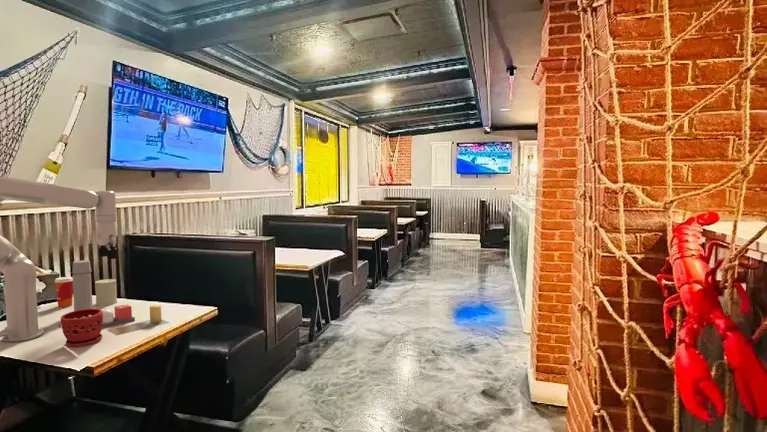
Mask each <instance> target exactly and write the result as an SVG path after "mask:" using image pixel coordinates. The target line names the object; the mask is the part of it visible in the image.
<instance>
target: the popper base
mask: <svg viewBox="0 0 767 432" xmlns="http://www.w3.org/2000/svg"><path fill="white" fill-rule="evenodd" d="M132 311H133V309H132V305H129V304H121V305H117V306H114V322H111V323H106V324H103V326H102V329H105V328H110V327H113V326H119V325H122V324H126V323H131V322H135V321H136V317H135V316H133V315H132V314H133V313H132ZM96 324H97V322H96Z"/></svg>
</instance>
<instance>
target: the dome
mask: <svg viewBox="0 0 767 432" xmlns="http://www.w3.org/2000/svg"><path fill="white" fill-rule="evenodd" d="M102 313H103V324H106V323H111V322H114V317H115V314H114V312H113V311H112V310H110V309H106V308H105V309H103V310H102Z"/></svg>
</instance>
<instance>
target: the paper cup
mask: <svg viewBox="0 0 767 432" xmlns="http://www.w3.org/2000/svg"><path fill="white" fill-rule="evenodd" d="M54 283H55V291H56V299H57V306H58V308H69V307H71V306H73V298H74V297H73V276H62V277H57V278H55V280H54Z"/></svg>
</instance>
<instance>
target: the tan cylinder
mask: <svg viewBox="0 0 767 432" xmlns="http://www.w3.org/2000/svg"><path fill="white" fill-rule="evenodd" d="M149 320H150V323H151V324H157V323H160V322H162V320H163V319H162V305H160V304H154V305H150V306H149Z"/></svg>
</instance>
